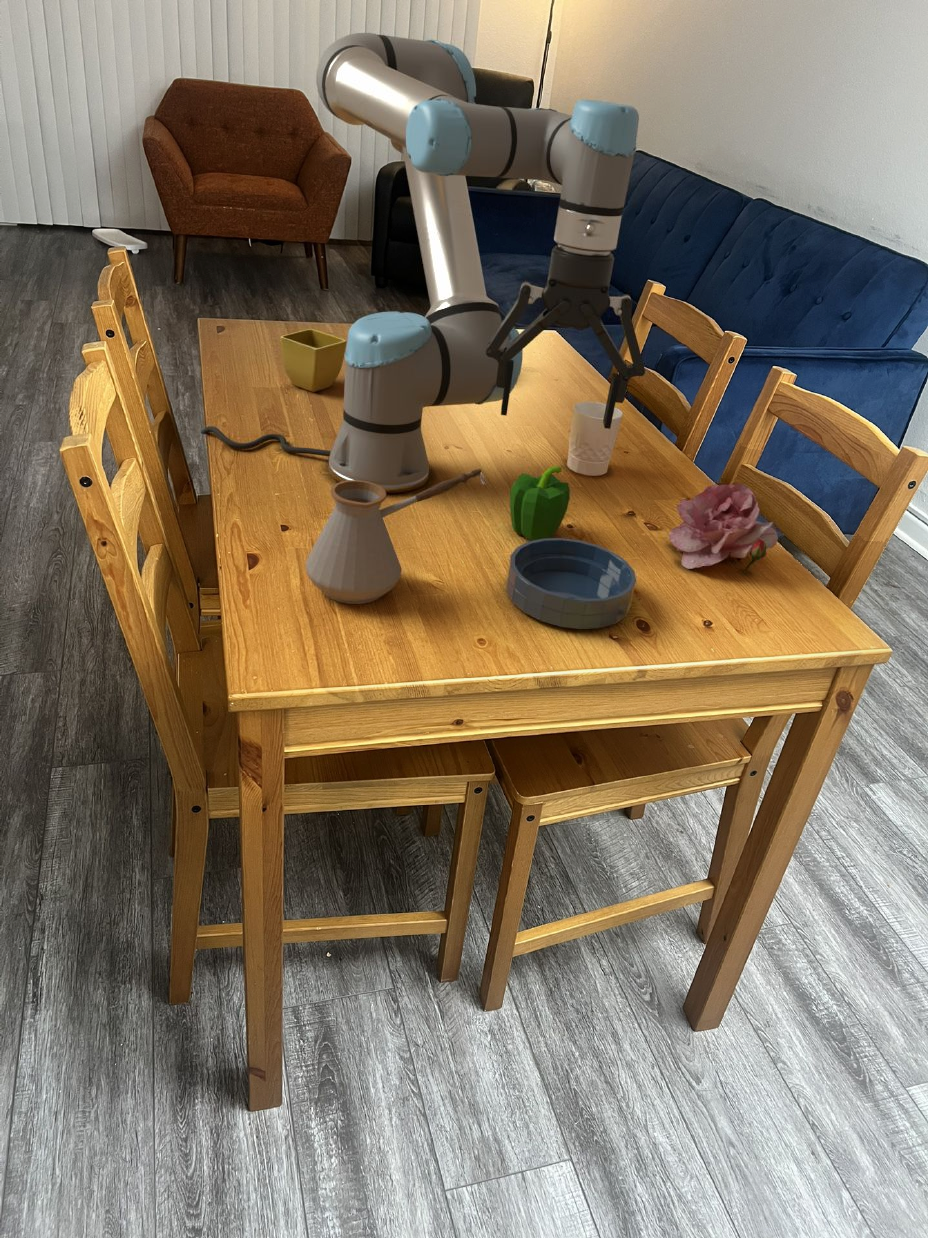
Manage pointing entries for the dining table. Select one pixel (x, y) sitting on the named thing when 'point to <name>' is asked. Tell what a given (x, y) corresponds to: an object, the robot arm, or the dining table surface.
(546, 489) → the bell pepper
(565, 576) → the bowl
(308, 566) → the coffee pot
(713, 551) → the flower
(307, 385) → the flower pot
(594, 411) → the white cup
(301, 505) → the dining table surface
